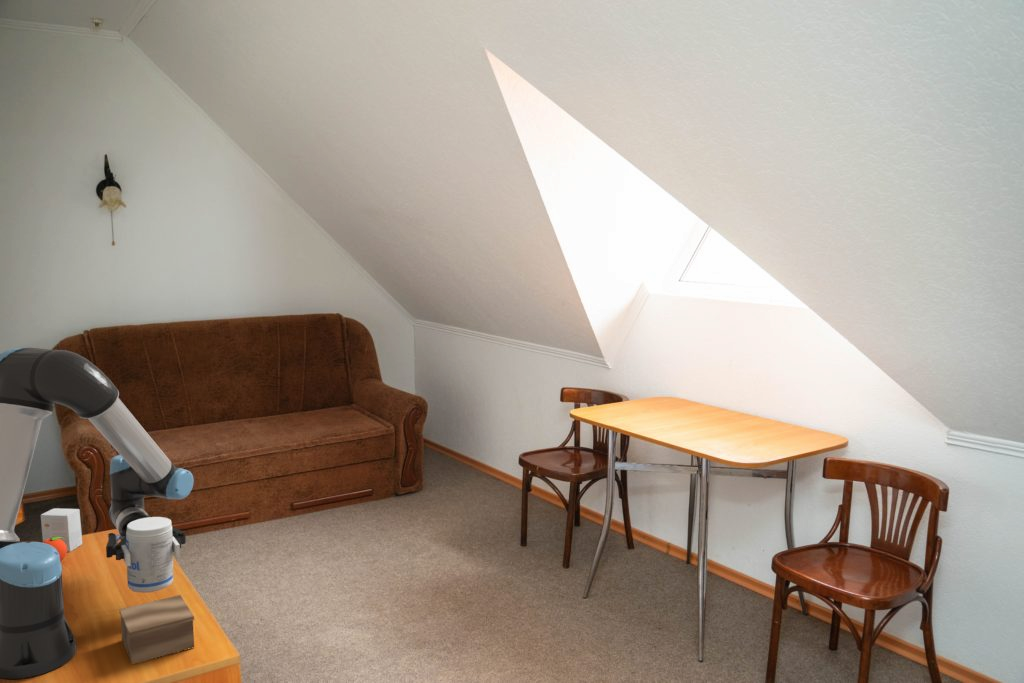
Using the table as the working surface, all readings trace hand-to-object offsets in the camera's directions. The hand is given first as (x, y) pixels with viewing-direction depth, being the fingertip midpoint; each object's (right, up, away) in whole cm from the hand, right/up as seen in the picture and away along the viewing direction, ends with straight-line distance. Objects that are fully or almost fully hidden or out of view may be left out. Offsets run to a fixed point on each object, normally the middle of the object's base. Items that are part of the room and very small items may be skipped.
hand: (153, 555), depth 176 cm
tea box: (+4, -17, -7) cm, 19 cm away
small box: (-46, -10, +45) cm, 65 cm away
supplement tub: (-3, -8, +4) cm, 10 cm away
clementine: (-42, -12, +35) cm, 56 cm away
